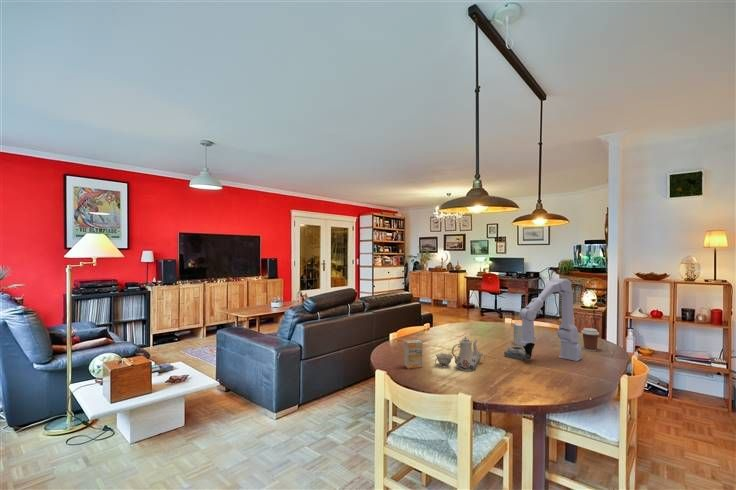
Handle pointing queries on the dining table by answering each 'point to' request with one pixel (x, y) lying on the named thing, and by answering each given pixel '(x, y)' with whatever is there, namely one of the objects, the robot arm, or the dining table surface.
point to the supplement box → (413, 354)
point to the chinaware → (462, 356)
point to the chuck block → (513, 355)
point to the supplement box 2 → (517, 333)
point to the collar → (519, 351)
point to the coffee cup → (590, 339)
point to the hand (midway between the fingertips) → (528, 356)
